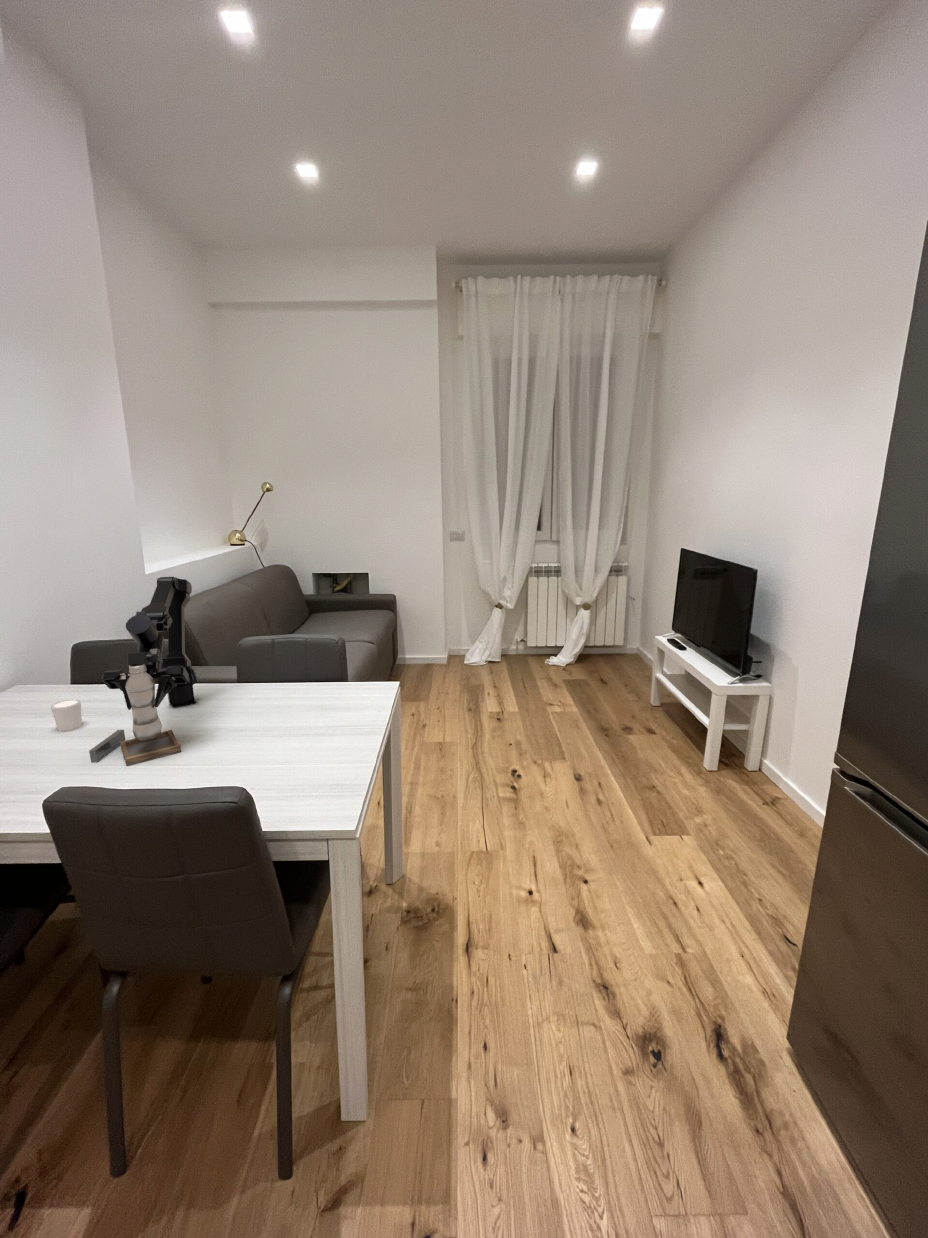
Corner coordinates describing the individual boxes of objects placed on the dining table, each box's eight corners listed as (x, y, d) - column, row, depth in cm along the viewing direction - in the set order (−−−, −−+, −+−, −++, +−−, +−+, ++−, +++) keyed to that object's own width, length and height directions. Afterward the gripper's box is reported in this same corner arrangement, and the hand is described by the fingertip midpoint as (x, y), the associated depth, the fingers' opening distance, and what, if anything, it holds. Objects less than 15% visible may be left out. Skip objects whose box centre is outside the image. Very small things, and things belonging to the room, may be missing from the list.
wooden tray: (172, 735, 148) (171, 729, 148) (181, 751, 139) (180, 745, 139) (120, 747, 141) (119, 741, 141) (126, 766, 132) (125, 759, 132)
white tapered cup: (69, 733, 150) (64, 709, 149) (48, 731, 152) (44, 707, 150) (90, 722, 157) (86, 700, 155) (70, 720, 158) (66, 698, 156)
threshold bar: (119, 740, 146) (118, 729, 145) (125, 740, 146) (123, 729, 145) (91, 762, 134) (89, 750, 133) (97, 762, 134) (95, 750, 133)
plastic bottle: (166, 730, 143) (156, 658, 138) (158, 743, 137) (146, 668, 132) (140, 732, 142) (128, 660, 137) (129, 745, 136) (117, 669, 130)
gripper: (97, 640, 135) (87, 698, 127) (180, 635, 139) (174, 691, 132) (114, 660, 144) (105, 716, 137) (191, 655, 149) (186, 709, 141)
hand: (142, 708), depth 136 cm, fingers closed on plastic bottle, 6 cm apart
